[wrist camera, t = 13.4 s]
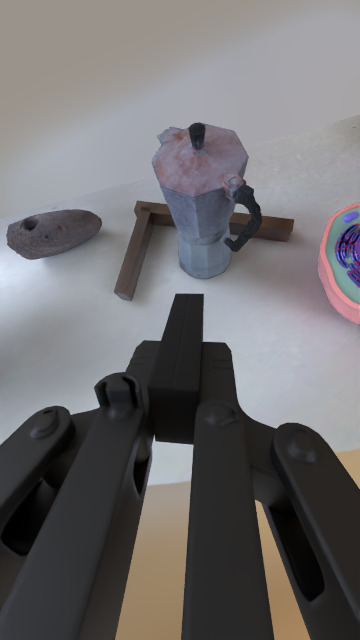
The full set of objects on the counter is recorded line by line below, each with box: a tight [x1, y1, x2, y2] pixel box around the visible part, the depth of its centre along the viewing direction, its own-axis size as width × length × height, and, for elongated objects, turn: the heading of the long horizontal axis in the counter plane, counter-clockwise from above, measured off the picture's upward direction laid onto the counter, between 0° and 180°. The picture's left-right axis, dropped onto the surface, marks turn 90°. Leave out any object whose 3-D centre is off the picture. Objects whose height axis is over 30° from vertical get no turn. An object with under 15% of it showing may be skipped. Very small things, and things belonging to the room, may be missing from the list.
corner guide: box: [114, 201, 294, 300], centre depth 37 cm, size 26×17×3 cm, turn 77°
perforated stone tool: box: [6, 209, 102, 260], centre depth 39 cm, size 15×5×7 cm, turn 107°
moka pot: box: [152, 123, 262, 279], centre depth 29 cm, size 10×15×20 cm, turn 44°
